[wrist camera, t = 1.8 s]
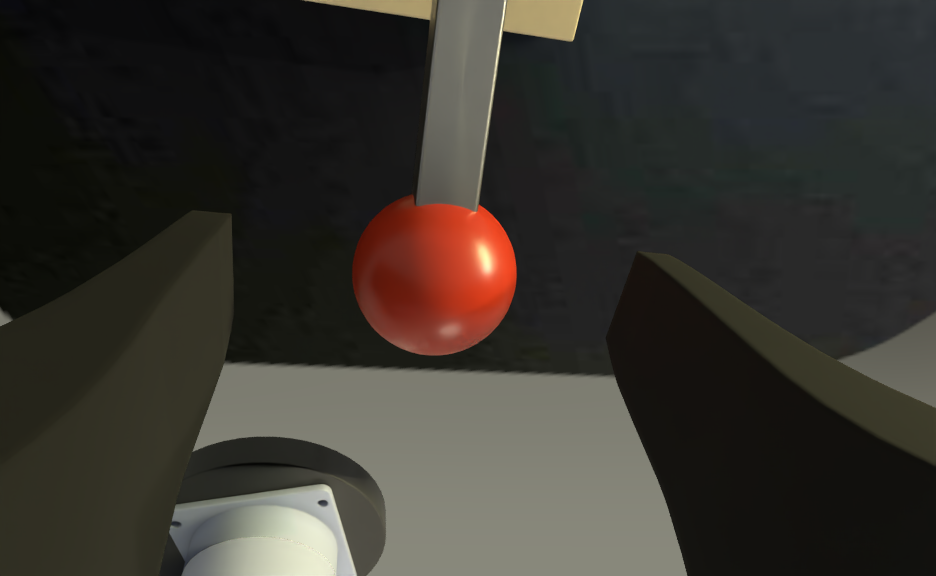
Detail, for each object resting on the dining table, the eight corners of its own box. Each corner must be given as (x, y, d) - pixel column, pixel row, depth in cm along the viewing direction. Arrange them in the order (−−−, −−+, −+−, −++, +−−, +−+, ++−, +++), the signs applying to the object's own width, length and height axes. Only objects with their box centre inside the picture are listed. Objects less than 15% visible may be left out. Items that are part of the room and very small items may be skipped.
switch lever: (487, 323, 14) (519, 388, 12) (347, 313, 14) (344, 380, 11) (581, -288, 11) (658, -405, 8) (400, -334, 10) (416, -478, 8)
